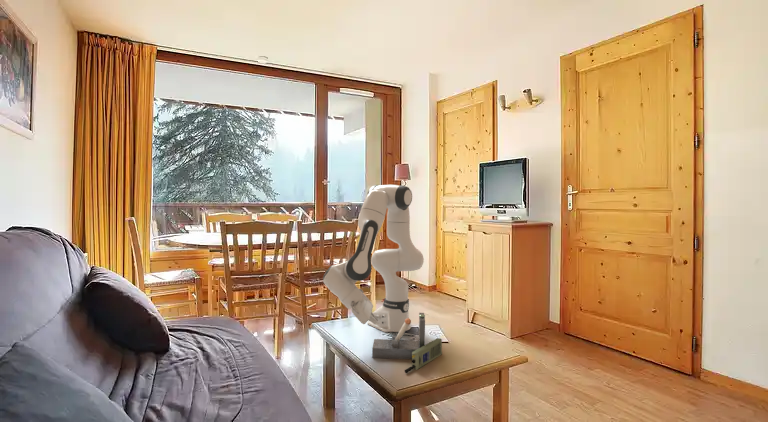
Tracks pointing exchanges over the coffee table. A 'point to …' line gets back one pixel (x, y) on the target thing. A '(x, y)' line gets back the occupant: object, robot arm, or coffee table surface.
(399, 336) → the lever
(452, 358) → the coffee table surface
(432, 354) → the handheld radio
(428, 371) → the coffee table surface
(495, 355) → the coffee table surface
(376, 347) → the breaker box
